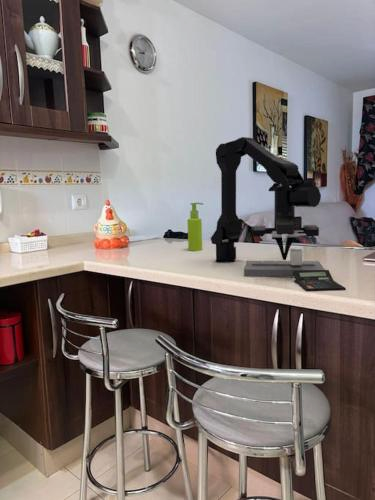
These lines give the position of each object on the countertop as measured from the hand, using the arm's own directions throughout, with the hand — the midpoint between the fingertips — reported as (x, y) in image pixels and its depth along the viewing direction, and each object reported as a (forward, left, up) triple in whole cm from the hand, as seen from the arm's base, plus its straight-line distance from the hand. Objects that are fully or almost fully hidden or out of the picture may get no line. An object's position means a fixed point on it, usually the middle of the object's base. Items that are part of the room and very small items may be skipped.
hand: (284, 259), depth 113 cm
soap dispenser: (-34, +43, -4) cm, 55 cm away
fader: (+3, 0, -1) cm, 4 cm away
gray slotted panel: (-1, 0, -4) cm, 4 cm away
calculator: (+8, -16, -4) cm, 18 cm away
